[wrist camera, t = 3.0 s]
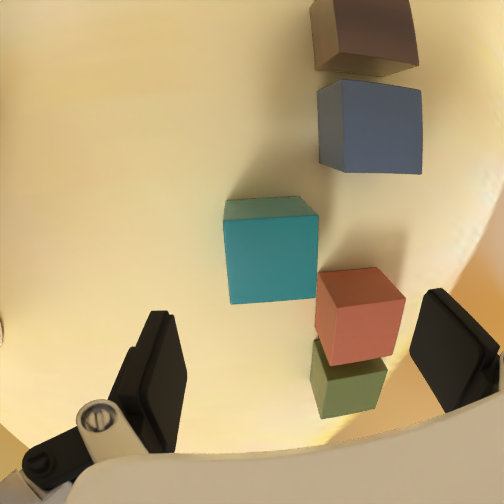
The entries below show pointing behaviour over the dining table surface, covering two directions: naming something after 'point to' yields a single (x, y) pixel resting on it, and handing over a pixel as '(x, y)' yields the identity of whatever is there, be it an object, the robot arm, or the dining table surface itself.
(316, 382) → the olive cube
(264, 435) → the dining table surface
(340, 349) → the terracotta cube
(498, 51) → the dining table surface
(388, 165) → the slate cube
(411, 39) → the walnut cube
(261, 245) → the teal cube
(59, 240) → the dining table surface
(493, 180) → the dining table surface
